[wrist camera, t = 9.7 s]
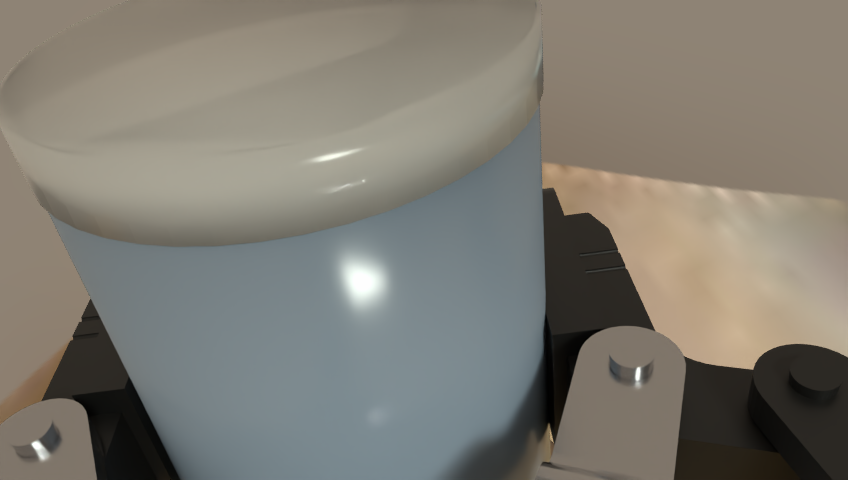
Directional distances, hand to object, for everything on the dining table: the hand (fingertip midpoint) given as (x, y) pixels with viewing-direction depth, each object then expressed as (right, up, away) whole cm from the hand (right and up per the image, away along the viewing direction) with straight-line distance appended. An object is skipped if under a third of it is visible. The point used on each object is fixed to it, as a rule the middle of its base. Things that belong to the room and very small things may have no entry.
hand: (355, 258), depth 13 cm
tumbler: (+1, -7, +2) cm, 7 cm away
